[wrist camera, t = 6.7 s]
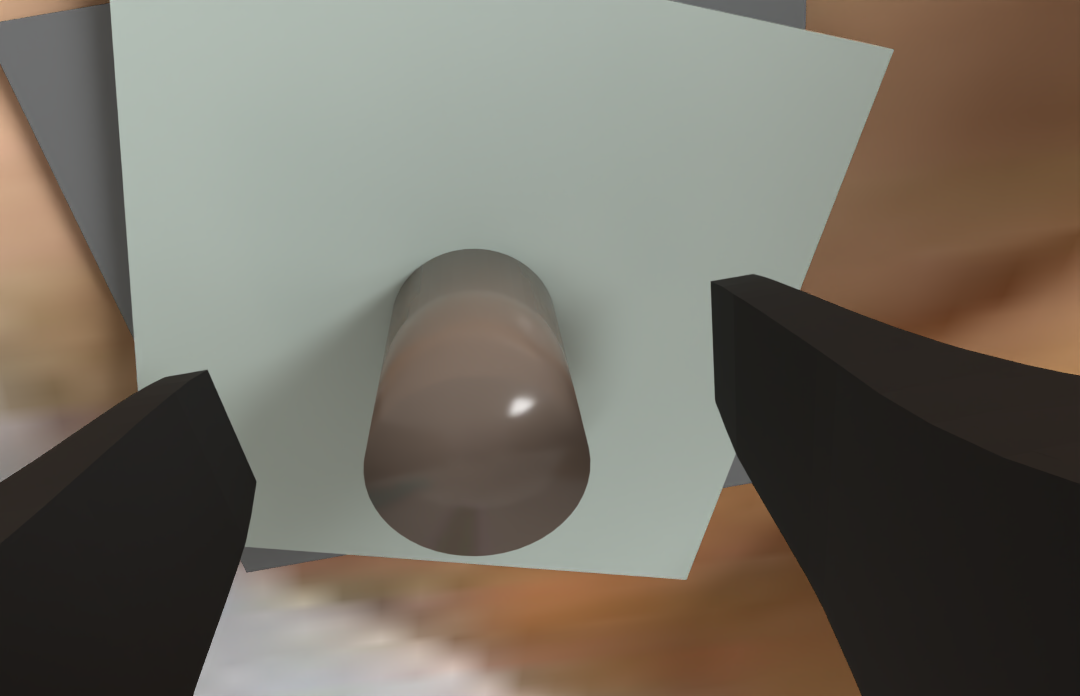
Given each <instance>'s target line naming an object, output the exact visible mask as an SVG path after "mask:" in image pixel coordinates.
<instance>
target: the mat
mask: <svg viewBox="0 0 1080 696" xmlns="http://www.w3.org/2000/svg"><path fill="white" fill-rule="evenodd" d="M673 1H677V2H682V3H687V4H691V5H696V6H700V7H705V8H710V9H714V10H719V11H723V12H728V13H733V14H737V15H742V16H747V17H751V18H756V19H760V20H765V21H770V22H774V23H779V24H783V25H788V26H793V27H797V28H802V29H805V27H806V0H673ZM0 64H1V66H2V68H3V70H4V73H5V75H6V77H7V79H8V81H9V83H10V85H11V87H12V89H13V91H14V93H15V95H16V97H17V99H18V101H19V104H20V106H21V108H22V110H23V112H24V114H25V116H26V118H27V120H28V122H29V124H30V126H31V128H32V130H33V132H34V134H35V137H36V139H37V141H38V143H39V145H40V147H41V149H42V151H43V153H44V155H45V157H46V159H47V161H48V163H49V165H50V167H51V170H52V172H53V174H54V176H55V178H56V180H57V182H58V184H59V186H60V188H61V190H62V192H63V194H64V196H65V198H66V201H67V203H68V205H69V207H70V209H71V211H72V213H73V215H74V217H75V219H76V221H77V223H78V225H79V227H80V229H81V231H82V234H83V236H84V238H85V240H86V242H87V244H88V246H89V248H90V250H91V252H92V254H93V256H94V258H95V260H96V262H97V264H98V267H99V269H100V271H101V273H102V275H103V277H104V279H105V281H106V283H107V285H108V287H109V289H110V291H111V293H112V295H113V298H114V300H115V302H116V304H117V306H118V308H119V310H120V312H121V314H122V316H123V318H124V320H125V322H126V324H127V326H128V328H129V331H130V333H131V335H132V337H133V339H134V329H133V316H132V302H131V288H130V274H129V260H128V246H127V233H126V219H125V205H124V191H123V177H122V163H121V150H120V136H119V122H118V108H117V94H116V80H115V67H114V53H113V39H112V25H111V11H110V3H107V4H101V5H95V6H90V7H84V8H78V9H72V10H66V11H60V12H55V13H49V14H43V15H37V16H31V17H26V18H20V19H14V20H8V21H2V22H0ZM748 483H752V482H751V480H750V478H749V477H748V475H747V473H746V471H745V470H744V468H743V466H742V464H741V462H740V461H739V459H738V457H737V455H736V454H735V457H734V460H733V462H732V465H731V467H730V470H729V472H728V475H727V477H726V480H725V483H724V485H723V488H726V487H731V486H737V485H743V484H748ZM343 555H348V554H335V553H321V552H308V551H294V550H281V549H268V548H254V547H244V550H243V553H242V556H241V559H240V560H241V562H242V564H243V566H244V568H245V570H246V572H252V571H258V570H264V569H269V568H275V567H281V566H286V565H292V564H298V563H303V562H309V561H314V560H320V559H326V558H331V557H337V556H343Z"/></svg>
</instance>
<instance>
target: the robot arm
mask: <svg viewBox="0 0 1080 696" xmlns="http://www.w3.org/2000/svg"><path fill="white" fill-rule="evenodd" d="M711 308H712V335H713V362H714V389H715V402H716V405H717V408H718V410H719V413H720V415H721V418H722V421H723V423H724V426H725V428H726V431H727V433H728V436H729V438H730V441H731V443H732V445H733V448H734V450H735V453H736V455H737V457H738V459H739V461H740V462H741V464H742V466H743V468H744V470H745V471H746V473H747V475H748V477H749V478H750V480H751V482H752V484H753V485H754V487H755V489H756V491H757V492H758V494H759V496H760V498H761V499H762V501H763V503H764V504H765V506H766V508H767V510H768V511H769V513H770V515H771V516H772V518H773V520H774V521H775V523H776V525H777V527H778V528H779V530H780V532H781V533H782V535H783V537H784V539H785V540H786V542H787V544H788V545H789V547H790V549H791V551H792V552H793V554H794V556H795V557H796V559H797V561H798V563H799V564H800V566H801V568H802V569H803V571H804V573H805V575H806V576H807V578H808V580H809V582H810V584H811V586H812V588H813V589H814V591H815V593H816V595H817V597H818V599H819V601H820V603H821V605H822V607H823V609H824V611H825V613H826V615H827V618H828V620H829V622H830V624H831V627H832V629H833V631H834V633H835V636H836V638H837V640H838V642H839V645H840V647H841V649H842V651H843V653H844V656H845V658H846V660H847V662H848V665H849V667H850V669H851V671H852V674H853V676H854V678H855V681H856V683H857V685H858V688H859V690H860V693H861V695H862V696H1080V376H1079V375H1073V374H1068V373H1062V372H1057V371H1053V370H1048V369H1043V368H1038V367H1034V366H1029V365H1025V364H1021V363H1017V362H1013V361H1009V360H1005V359H1001V358H997V357H993V356H989V355H985V354H981V353H977V352H973V351H969V350H965V349H962V348H958V347H955V346H952V345H948V344H945V343H941V342H938V341H935V340H932V339H929V338H926V337H923V336H920V335H917V334H914V333H911V332H908V331H905V330H902V329H899V328H896V327H893V326H890V325H888V324H885V323H882V322H879V321H877V320H874V319H871V318H868V317H866V316H863V315H861V314H858V313H855V312H853V311H850V310H848V309H845V308H843V307H840V306H838V305H835V304H833V303H830V302H828V301H825V300H823V299H820V298H818V297H815V296H813V295H810V294H808V293H806V292H803V291H801V290H798V289H796V288H793V287H791V286H788V285H786V284H783V283H780V282H778V281H775V280H772V279H769V278H766V277H763V276H760V275H756V274H749V275H744V276H738V277H732V278H726V279H721V280H715V281H711ZM256 483H257V481H256V479H255V477H254V474H253V472H252V470H251V468H250V465H249V463H248V461H247V458H246V456H245V454H244V452H243V449H242V447H241V445H240V443H239V440H238V438H237V436H236V433H235V431H234V429H233V427H232V424H231V422H230V420H229V417H228V415H227V413H226V411H225V408H224V406H223V404H222V401H221V399H220V397H219V395H218V392H217V390H216V388H215V385H214V383H213V381H212V379H211V376H210V374H209V372H208V370H202V371H196V372H191V373H185V374H179V375H174V376H168V377H164V378H162V379H160V380H158V381H156V382H154V383H152V384H150V385H148V386H146V387H144V388H143V389H141V390H139V391H138V392H136V393H134V394H133V395H131V396H130V397H128V398H126V399H125V400H123V401H122V402H120V403H119V404H117V405H116V406H114V407H113V408H111V409H110V410H108V411H107V412H105V413H104V414H102V415H101V416H99V417H98V418H96V419H95V420H93V421H92V422H90V423H89V424H87V425H86V426H85V427H83V428H82V429H80V430H79V431H77V432H76V433H74V434H73V435H71V436H70V437H68V438H67V439H65V440H64V441H63V442H61V443H60V444H58V445H57V446H55V447H54V448H52V449H51V450H49V451H48V452H46V453H45V454H43V455H42V456H40V457H39V458H38V459H36V460H35V461H33V462H31V463H30V464H28V465H27V466H25V467H24V468H22V469H21V470H19V471H17V472H16V473H14V474H13V475H11V476H10V477H8V478H7V479H5V480H3V481H2V482H0V696H193V694H194V691H195V687H196V685H197V682H198V679H199V676H200V673H201V670H202V668H203V665H204V662H205V659H206V656H207V653H208V651H209V648H210V645H211V642H212V639H213V637H214V634H215V631H216V628H217V625H218V622H219V620H220V617H221V614H222V611H223V608H224V605H225V603H226V600H227V597H228V594H229V591H230V588H231V585H232V583H233V580H234V577H235V574H236V571H237V568H238V565H239V562H240V559H241V556H242V553H243V550H244V547H245V544H246V539H247V534H248V529H249V525H250V520H251V515H252V508H253V502H254V496H255V490H256Z"/></svg>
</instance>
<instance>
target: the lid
mask: <svg viewBox="0 0 1080 696" xmlns="http://www.w3.org/2000/svg"><path fill="white" fill-rule="evenodd" d="M110 11H111V25H112V39H113V53H114V67H115V80H116V94H117V108H118V122H119V136H120V150H121V163H122V177H123V191H124V205H125V219H126V233H127V246H128V260H129V274H130V288H131V302H132V316H133V329H134V343H135V357H136V371H137V385H138V391H139V390H141V389H143V388H144V387H146V386H148V385H150V384H152V383H154V382H156V381H158V380H160V379H162V378H164V377H168V376H174V375H179V374H185V373H191V372H196V371H202V370H208V372H209V374H210V376H211V379H212V381H213V383H214V385H215V388H216V390H217V392H218V395H219V397H220V399H221V401H222V404H223V406H224V408H225V411H226V413H227V415H228V417H229V420H230V422H231V424H232V427H233V429H234V431H235V433H236V436H237V438H238V440H239V443H240V445H241V447H242V449H243V452H244V454H245V456H246V458H247V461H248V463H249V465H250V468H251V470H252V472H253V474H254V477H255V479H256V481H257V483H256V490H255V496H254V502H253V508H252V515H251V520H250V525H249V529H248V534H247V539H246V544H245V547H254V548H268V549H281V550H294V551H308V552H321V553H335V554H348V555H361V556H375V557H388V558H402V559H415V560H428V561H442V562H455V563H469V564H482V565H495V566H509V567H522V568H536V569H549V570H562V571H576V572H589V573H603V574H616V575H629V576H643V577H656V578H670V579H683V580H687V577H688V574H689V572H690V569H691V567H692V564H693V562H694V559H695V557H696V554H697V551H698V549H699V546H700V544H701V541H702V539H703V536H704V534H705V531H706V528H707V526H708V523H709V521H710V518H711V516H712V513H713V511H714V508H715V506H716V503H717V500H718V498H719V495H720V493H721V490H722V488H723V485H724V483H725V480H726V477H727V475H728V472H729V470H730V467H731V465H732V462H733V460H734V457H735V454H736V453H735V450H734V448H733V445H732V443H731V441H730V438H729V436H728V433H727V431H726V428H725V426H724V423H723V421H722V418H721V415H720V413H719V410H718V408H717V405H716V402H715V389H714V362H713V335H712V308H711V281H715V280H721V279H726V278H732V277H738V276H744V275H749V274H756V275H760V276H763V277H766V278H769V279H772V280H775V281H778V282H780V283H783V284H786V285H788V286H791V287H793V288H796V289H798V290H800V289H801V286H802V283H803V281H804V278H805V276H806V273H807V271H808V268H809V266H810V263H811V260H812V258H813V255H814V253H815V250H816V248H817V245H818V243H819V240H820V237H821V235H822V232H823V230H824V227H825V225H826V222H827V220H828V217H829V215H830V212H831V209H832V207H833V204H834V202H835V199H836V197H837V194H838V192H839V189H840V186H841V184H842V181H843V179H844V176H845V174H846V171H847V169H848V166H849V163H850V161H851V158H852V156H853V153H854V151H855V148H856V146H857V143H858V141H859V138H860V135H861V133H862V130H863V128H864V125H865V123H866V120H867V118H868V115H869V112H870V110H871V107H872V105H873V102H874V100H875V97H876V95H877V92H878V89H879V87H880V84H881V82H882V79H883V77H884V74H885V72H886V69H887V66H888V64H889V61H890V59H891V56H892V54H893V51H894V49H890V48H886V47H882V46H879V45H875V44H871V43H866V42H862V41H857V40H853V39H848V38H843V37H839V36H834V35H830V34H825V33H820V32H816V31H811V30H806V29H802V28H797V27H793V26H788V25H783V24H779V23H774V22H770V21H765V20H760V19H756V18H751V17H747V16H742V15H737V14H733V13H728V12H723V11H719V10H714V9H710V8H705V7H700V6H696V5H691V4H687V3H682V2H677V1H673V0H110Z"/></svg>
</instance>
